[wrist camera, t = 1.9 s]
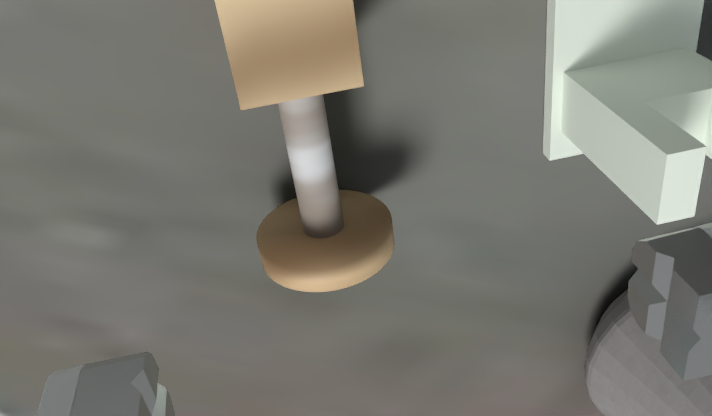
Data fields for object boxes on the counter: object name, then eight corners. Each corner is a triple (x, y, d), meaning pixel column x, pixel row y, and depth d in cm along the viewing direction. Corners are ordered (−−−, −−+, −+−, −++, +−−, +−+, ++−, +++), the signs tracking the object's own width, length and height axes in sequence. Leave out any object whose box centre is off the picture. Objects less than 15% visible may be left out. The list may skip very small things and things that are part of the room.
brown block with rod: (127, -296, 22) (104, -320, 17) (311, -322, 22) (343, -352, 17) (257, 225, 33) (267, 305, 28) (378, 200, 33) (409, 273, 28)
